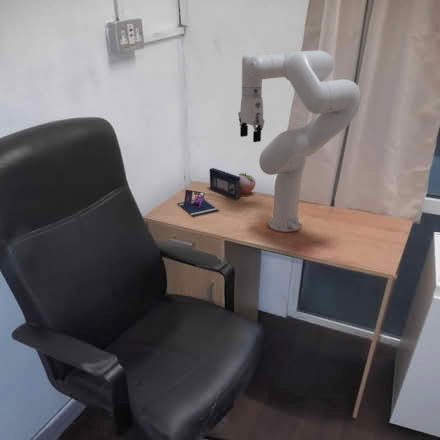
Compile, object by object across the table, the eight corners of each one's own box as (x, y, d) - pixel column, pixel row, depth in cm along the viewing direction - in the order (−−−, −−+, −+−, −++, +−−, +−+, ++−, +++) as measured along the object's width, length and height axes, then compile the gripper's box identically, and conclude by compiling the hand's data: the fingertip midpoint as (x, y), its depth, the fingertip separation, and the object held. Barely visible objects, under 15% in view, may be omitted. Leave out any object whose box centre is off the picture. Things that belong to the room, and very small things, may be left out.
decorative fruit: (231, 194, 194) (231, 173, 188) (242, 189, 199) (242, 168, 193) (247, 199, 189) (248, 177, 183) (258, 193, 194) (259, 172, 188)
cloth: (218, 211, 178) (218, 210, 178) (193, 216, 173) (193, 216, 173) (201, 199, 189) (201, 198, 189) (177, 204, 185) (177, 203, 185)
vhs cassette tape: (209, 189, 200) (209, 168, 194) (214, 187, 201) (214, 167, 196) (235, 200, 188) (235, 178, 182) (240, 198, 189) (240, 176, 184)
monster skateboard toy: (184, 189, 180) (203, 192, 176) (190, 189, 184) (208, 192, 181) (183, 205, 182) (201, 208, 178) (188, 205, 186) (206, 208, 183)
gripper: (272, 94, 152) (270, 142, 161) (248, 87, 164) (247, 133, 174) (255, 96, 149) (253, 145, 158) (231, 89, 161) (231, 135, 171)
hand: (250, 138), depth 166 cm, fingers open, 9 cm apart
